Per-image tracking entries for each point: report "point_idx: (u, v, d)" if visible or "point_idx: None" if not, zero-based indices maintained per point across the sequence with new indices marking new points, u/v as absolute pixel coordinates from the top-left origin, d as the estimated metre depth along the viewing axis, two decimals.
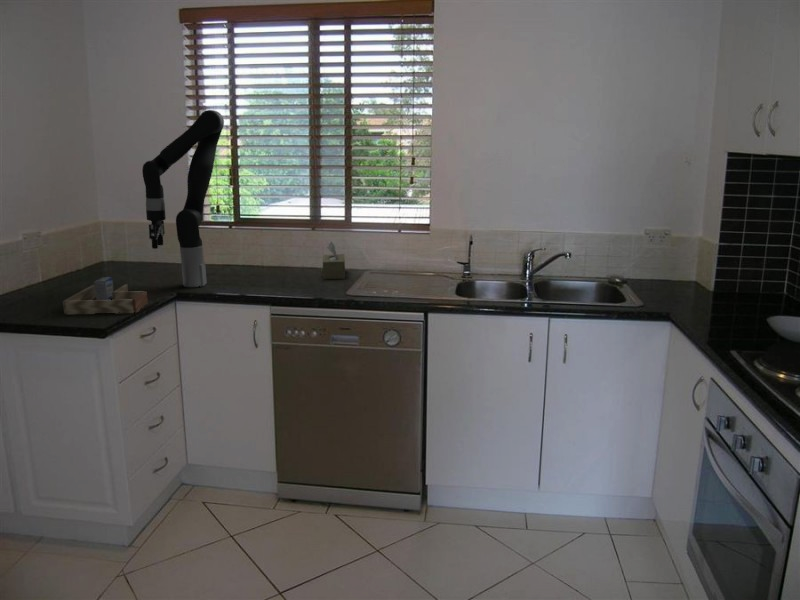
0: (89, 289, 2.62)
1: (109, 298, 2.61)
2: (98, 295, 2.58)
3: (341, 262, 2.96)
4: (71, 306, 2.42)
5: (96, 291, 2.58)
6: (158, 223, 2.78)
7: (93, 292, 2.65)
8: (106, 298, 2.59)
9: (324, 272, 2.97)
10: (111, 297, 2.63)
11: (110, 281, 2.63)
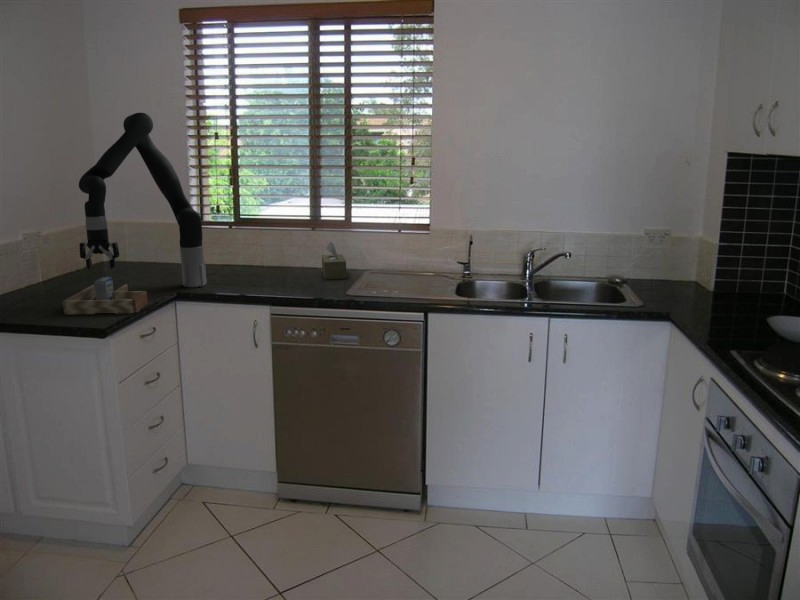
0: (89, 289, 2.62)
1: (109, 298, 2.61)
2: (98, 295, 2.58)
3: (342, 262, 2.97)
4: (71, 306, 2.42)
5: (96, 291, 2.58)
6: None
7: (93, 292, 2.65)
8: (106, 298, 2.59)
9: (325, 272, 2.96)
10: (111, 297, 2.63)
11: (110, 281, 2.63)
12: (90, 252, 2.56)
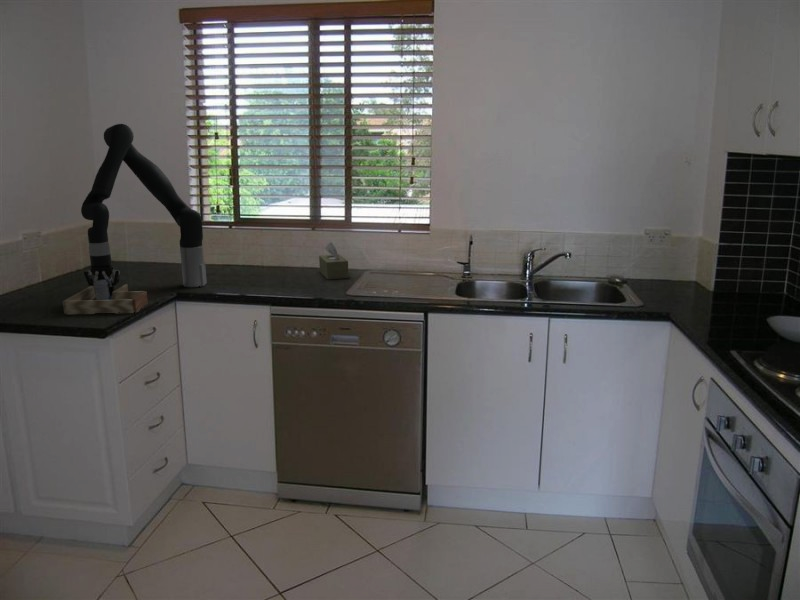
0: (89, 289, 2.62)
1: (109, 298, 2.61)
2: (98, 295, 2.58)
3: (345, 262, 2.97)
4: (71, 306, 2.42)
5: (96, 291, 2.58)
6: None
7: (93, 292, 2.65)
8: (106, 298, 2.59)
9: (328, 272, 2.96)
10: (111, 297, 2.63)
11: None
12: (96, 278, 2.59)
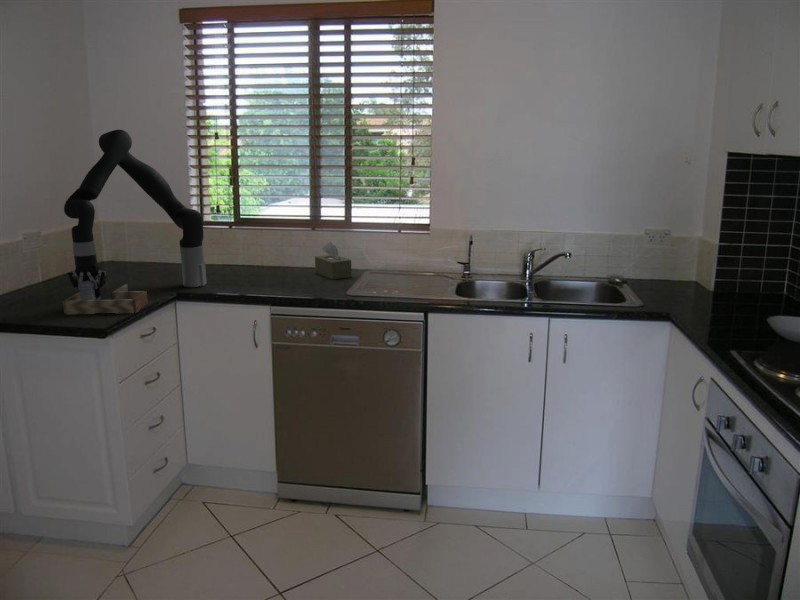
0: None
1: None
2: (83, 297, 2.45)
3: (348, 261, 2.99)
4: (71, 306, 2.42)
5: (81, 293, 2.45)
6: None
7: None
8: None
9: (333, 272, 2.96)
10: (97, 299, 2.50)
11: None
12: (81, 280, 2.46)
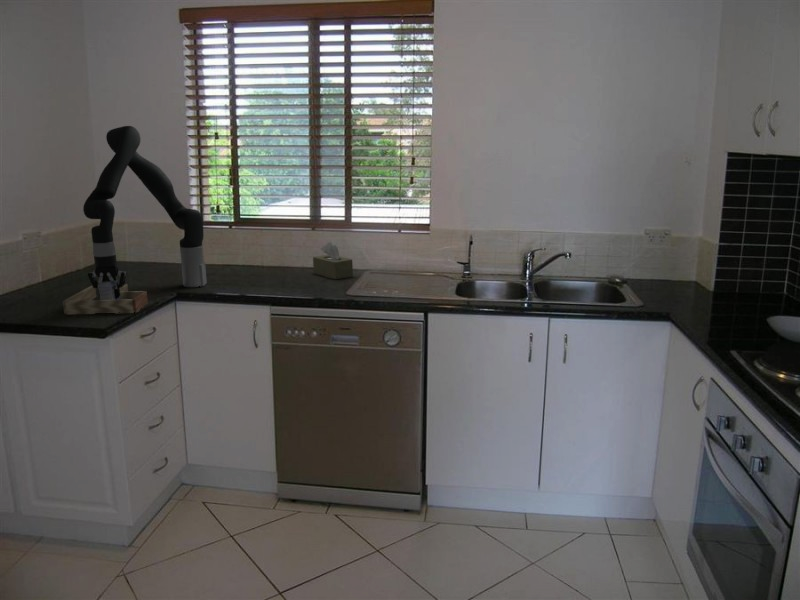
0: (89, 289, 2.62)
1: None
2: (102, 298, 2.45)
3: (350, 260, 3.00)
4: (71, 306, 2.42)
5: (101, 293, 2.44)
6: None
7: (93, 292, 2.65)
8: None
9: (336, 272, 2.96)
10: None
11: None
12: (100, 280, 2.45)
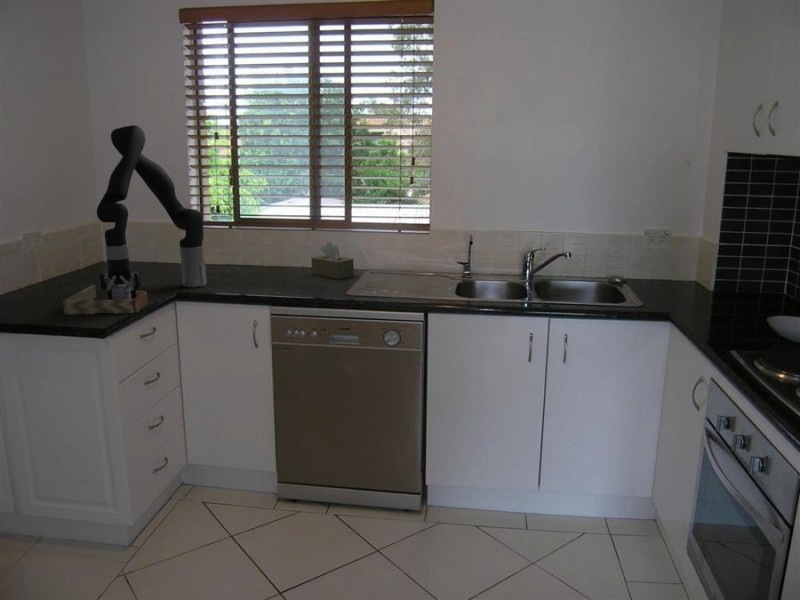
0: (89, 289, 2.62)
1: None
2: None
3: (351, 260, 3.01)
4: (71, 306, 2.42)
5: (114, 299, 2.45)
6: None
7: (93, 292, 2.65)
8: None
9: (339, 272, 2.96)
10: None
11: (128, 288, 2.50)
12: (111, 283, 2.46)
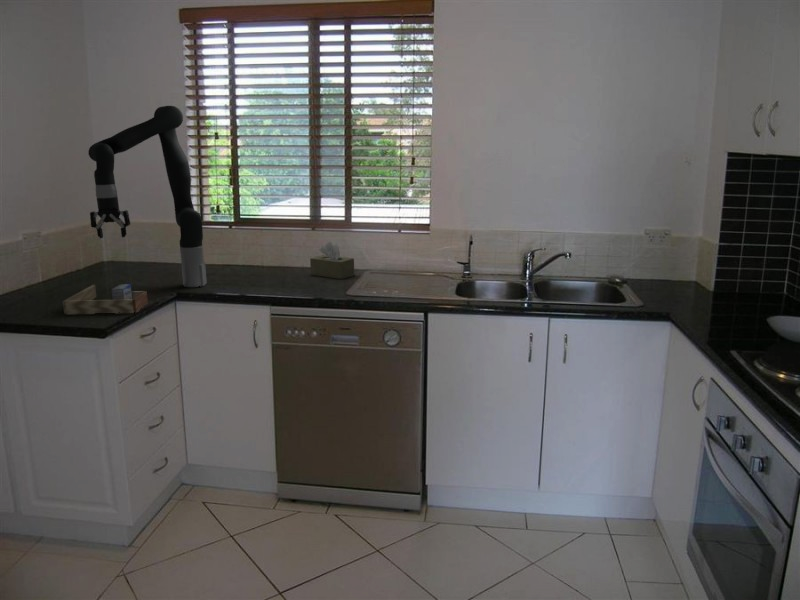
0: (89, 289, 2.62)
1: None
2: None
3: (352, 259, 3.02)
4: (71, 306, 2.42)
5: (114, 299, 2.45)
6: None
7: (93, 292, 2.65)
8: None
9: (342, 272, 2.97)
10: None
11: (128, 288, 2.50)
12: (101, 221, 2.56)
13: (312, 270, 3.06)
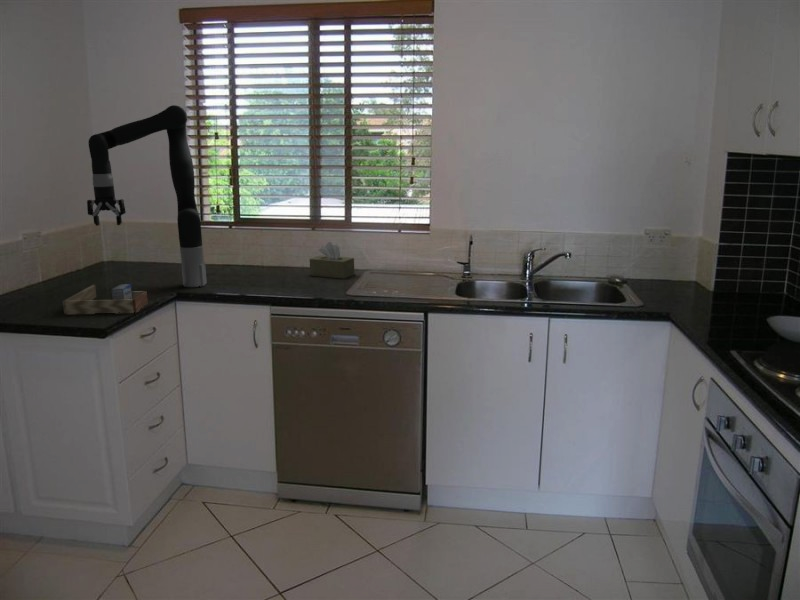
0: (89, 289, 2.62)
1: None
2: None
3: (352, 259, 3.03)
4: (71, 306, 2.42)
5: (114, 299, 2.45)
6: None
7: (93, 292, 2.65)
8: None
9: (344, 271, 2.98)
10: None
11: (128, 288, 2.50)
12: (97, 209, 2.66)
13: (312, 271, 3.04)
